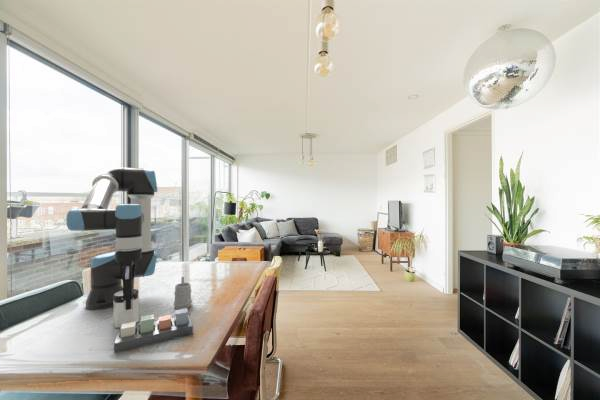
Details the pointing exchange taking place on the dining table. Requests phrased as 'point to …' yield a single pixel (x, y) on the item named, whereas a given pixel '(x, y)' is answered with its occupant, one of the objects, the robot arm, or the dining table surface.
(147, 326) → the key sage
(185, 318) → the key slate
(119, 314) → the jar
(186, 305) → the mug
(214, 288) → the dining table surface
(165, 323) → the key coral
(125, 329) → the key ivory
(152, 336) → the key panel
